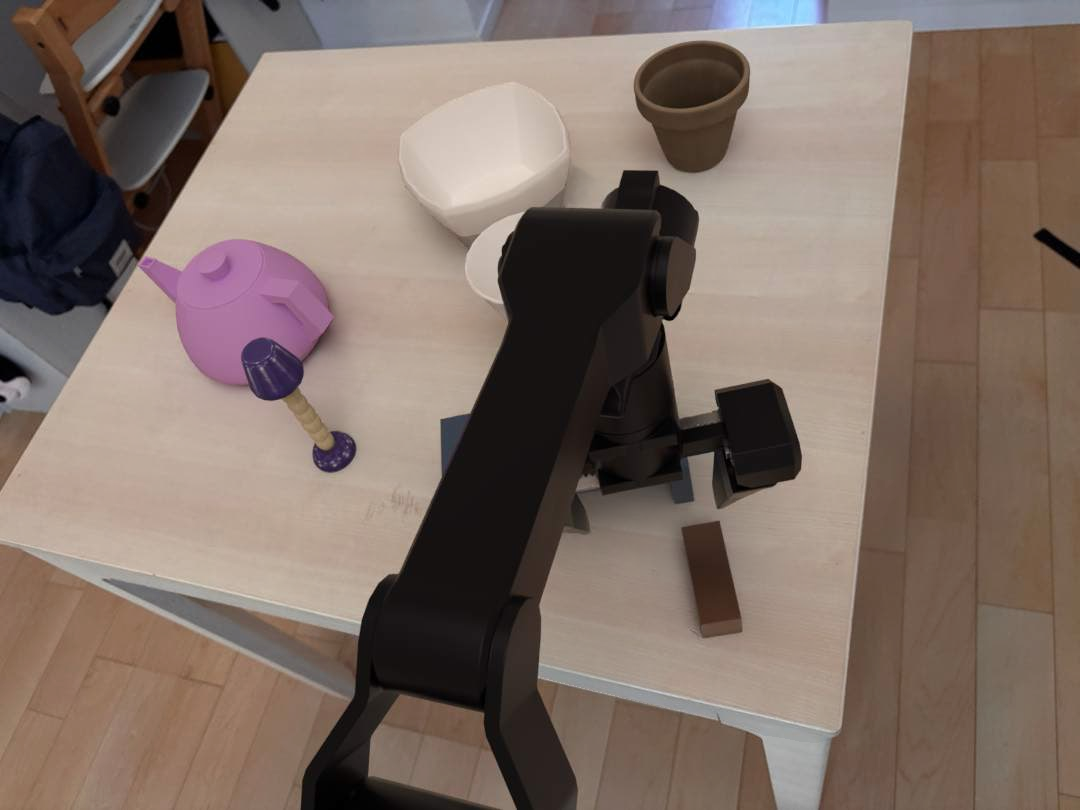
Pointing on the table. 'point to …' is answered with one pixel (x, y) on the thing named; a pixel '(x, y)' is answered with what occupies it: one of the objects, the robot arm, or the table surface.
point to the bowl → (486, 158)
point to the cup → (489, 261)
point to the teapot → (241, 304)
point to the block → (712, 580)
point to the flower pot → (693, 100)
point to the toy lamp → (294, 399)
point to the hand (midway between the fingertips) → (652, 515)
